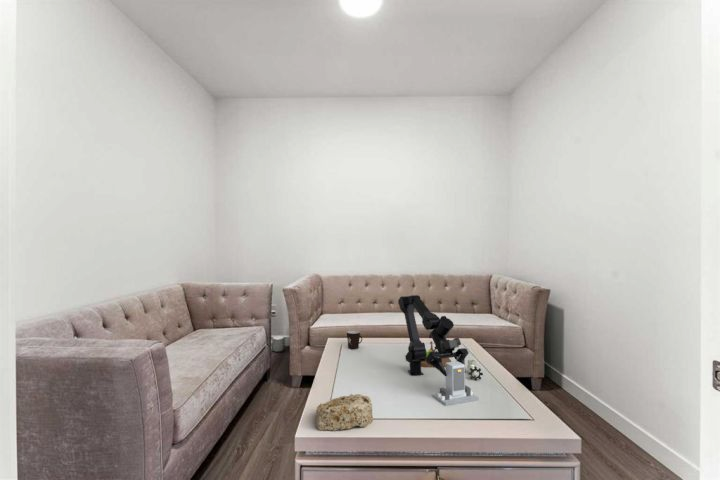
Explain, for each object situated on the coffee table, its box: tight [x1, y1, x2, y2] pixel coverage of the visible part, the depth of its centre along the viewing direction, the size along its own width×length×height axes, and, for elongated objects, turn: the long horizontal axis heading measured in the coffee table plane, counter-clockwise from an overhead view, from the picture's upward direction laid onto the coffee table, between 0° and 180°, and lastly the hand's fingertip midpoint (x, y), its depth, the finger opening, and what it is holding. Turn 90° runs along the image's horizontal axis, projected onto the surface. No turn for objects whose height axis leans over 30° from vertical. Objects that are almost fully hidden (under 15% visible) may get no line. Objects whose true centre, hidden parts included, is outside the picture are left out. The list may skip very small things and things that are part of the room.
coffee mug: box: [346, 330, 363, 350], centre depth 228 cm, size 12×9×10 cm
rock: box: [315, 393, 374, 432], centre depth 132 cm, size 21×14×10 cm
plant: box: [421, 340, 452, 369], centre depth 201 cm, size 20×20×11 cm
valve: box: [466, 359, 484, 382], centre depth 179 cm, size 7×7×12 cm
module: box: [445, 360, 466, 396], centre depth 152 cm, size 6×6×12 cm
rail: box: [431, 384, 480, 407], centre depth 152 cm, size 16×10×4 cm, turn 111°
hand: (455, 374), depth 152 cm, fingers open, 9 cm apart
